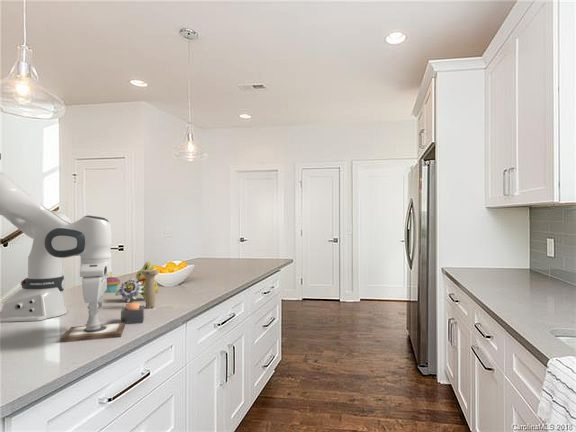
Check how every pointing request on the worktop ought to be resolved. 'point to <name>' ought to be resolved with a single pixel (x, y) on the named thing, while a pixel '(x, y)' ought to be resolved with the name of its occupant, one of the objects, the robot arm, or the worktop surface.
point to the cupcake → (112, 283)
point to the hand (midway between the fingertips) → (96, 311)
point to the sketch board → (93, 332)
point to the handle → (150, 287)
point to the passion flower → (131, 290)
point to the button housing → (132, 315)
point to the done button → (132, 306)
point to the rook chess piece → (93, 322)
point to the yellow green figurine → (143, 278)
